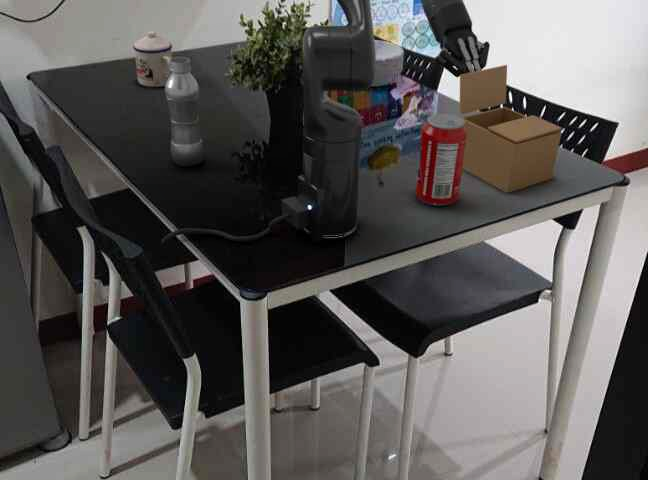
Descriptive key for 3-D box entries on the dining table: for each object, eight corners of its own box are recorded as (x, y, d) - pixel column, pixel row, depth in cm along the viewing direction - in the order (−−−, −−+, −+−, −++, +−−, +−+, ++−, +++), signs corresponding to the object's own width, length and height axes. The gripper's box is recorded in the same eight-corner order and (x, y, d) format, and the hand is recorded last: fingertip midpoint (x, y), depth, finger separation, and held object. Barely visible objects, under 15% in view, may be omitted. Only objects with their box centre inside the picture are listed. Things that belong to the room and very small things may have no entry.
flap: (460, 114, 149) (459, 114, 149) (505, 103, 155) (504, 103, 155) (461, 75, 146) (459, 74, 146) (507, 65, 151) (505, 64, 151)
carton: (453, 163, 155) (460, 113, 149) (497, 151, 161) (505, 102, 155) (506, 193, 145) (516, 140, 139) (551, 178, 151) (562, 127, 145)
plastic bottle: (173, 171, 149) (163, 67, 137) (169, 157, 154) (159, 55, 143) (207, 168, 151) (200, 64, 139) (202, 154, 156) (195, 53, 144)
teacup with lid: (129, 80, 190) (123, 31, 183) (161, 72, 195) (156, 24, 188) (158, 94, 183) (153, 43, 176) (189, 85, 188) (186, 35, 181)
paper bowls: (371, 95, 185) (373, 62, 181) (327, 78, 194) (328, 46, 190) (414, 82, 194) (417, 50, 189) (370, 66, 203) (372, 35, 198)
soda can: (435, 212, 138) (444, 132, 129) (405, 196, 143) (413, 117, 134) (466, 201, 142) (478, 122, 133) (437, 185, 147) (446, 108, 138)
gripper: (460, 18, 159) (493, 96, 158) (409, 27, 152) (443, 107, 152) (482, -4, 152) (516, 77, 151) (430, 5, 146) (465, 89, 145)
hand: (480, 92), depth 151 cm, fingers closed
